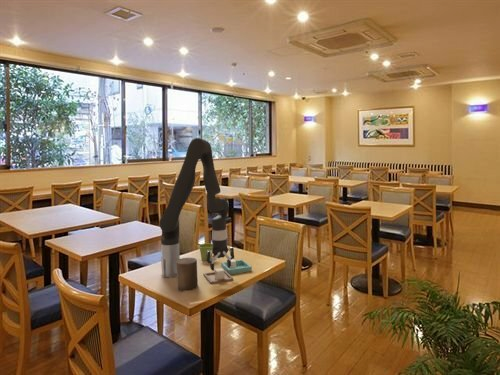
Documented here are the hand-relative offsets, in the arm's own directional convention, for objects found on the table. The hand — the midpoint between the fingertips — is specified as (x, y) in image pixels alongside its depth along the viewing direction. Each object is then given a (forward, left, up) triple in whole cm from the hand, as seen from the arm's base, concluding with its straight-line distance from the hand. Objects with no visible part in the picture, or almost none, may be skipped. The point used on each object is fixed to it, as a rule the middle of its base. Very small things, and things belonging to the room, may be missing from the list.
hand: (220, 268), depth 179 cm
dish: (+12, +10, -6) cm, 17 cm away
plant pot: (+2, +34, -6) cm, 35 cm away
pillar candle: (-18, -3, -6) cm, 19 cm away
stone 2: (+9, +10, -5) cm, 15 cm away
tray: (-1, +2, -6) cm, 6 cm away
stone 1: (-1, 0, -5) cm, 5 cm away
